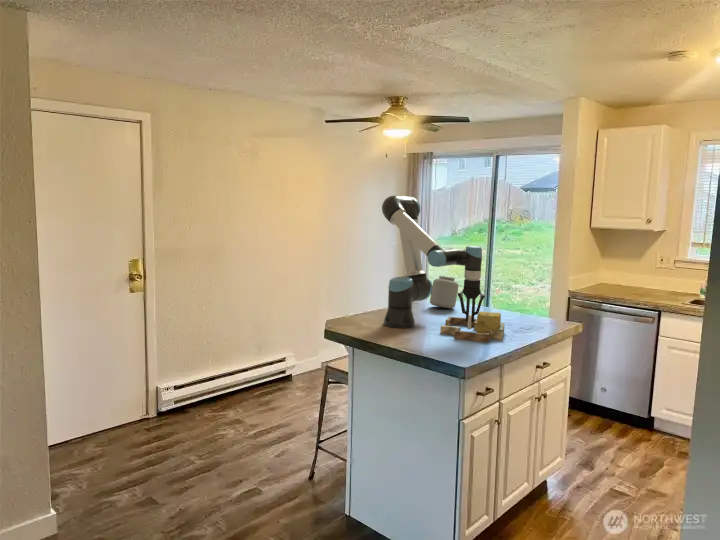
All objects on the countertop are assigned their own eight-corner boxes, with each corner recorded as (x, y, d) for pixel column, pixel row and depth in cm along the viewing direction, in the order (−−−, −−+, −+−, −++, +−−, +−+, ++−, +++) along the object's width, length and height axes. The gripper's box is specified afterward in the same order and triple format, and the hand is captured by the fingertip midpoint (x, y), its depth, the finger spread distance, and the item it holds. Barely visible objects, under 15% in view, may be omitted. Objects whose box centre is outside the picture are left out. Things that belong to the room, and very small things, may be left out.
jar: (443, 304, 324) (445, 263, 321) (464, 308, 314) (466, 265, 311) (424, 308, 310) (426, 265, 307) (445, 312, 300) (447, 268, 297)
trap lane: (437, 337, 243) (438, 327, 242) (447, 323, 272) (448, 314, 272) (501, 343, 235) (501, 333, 234) (504, 328, 264) (505, 319, 263)
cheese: (498, 338, 244) (500, 316, 243) (474, 335, 248) (476, 314, 246) (500, 333, 254) (501, 312, 253) (477, 330, 257) (478, 310, 256)
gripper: (457, 279, 249) (454, 328, 252) (485, 281, 245) (482, 331, 248) (459, 277, 256) (456, 325, 259) (487, 279, 252) (484, 328, 255)
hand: (469, 328), depth 254 cm, fingers closed
